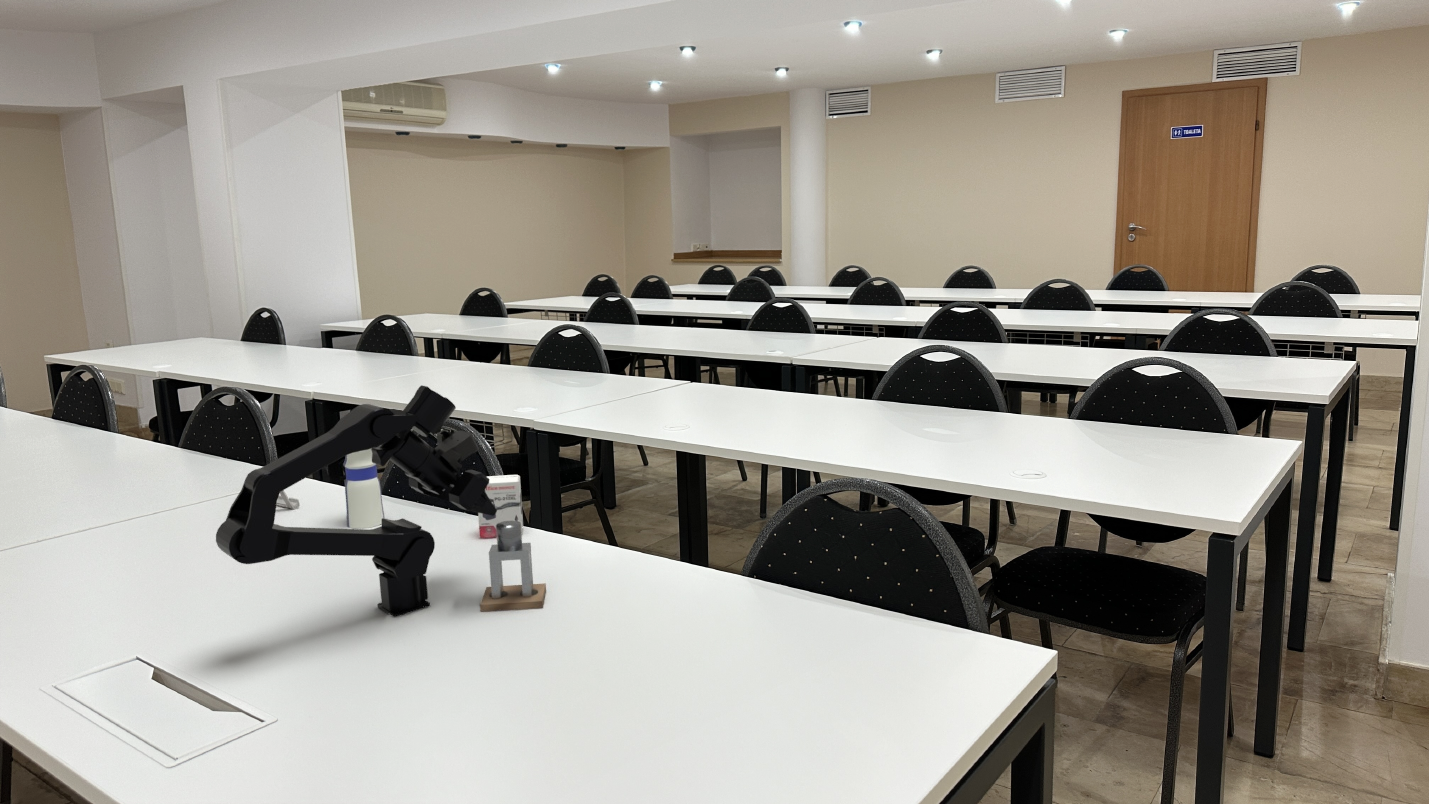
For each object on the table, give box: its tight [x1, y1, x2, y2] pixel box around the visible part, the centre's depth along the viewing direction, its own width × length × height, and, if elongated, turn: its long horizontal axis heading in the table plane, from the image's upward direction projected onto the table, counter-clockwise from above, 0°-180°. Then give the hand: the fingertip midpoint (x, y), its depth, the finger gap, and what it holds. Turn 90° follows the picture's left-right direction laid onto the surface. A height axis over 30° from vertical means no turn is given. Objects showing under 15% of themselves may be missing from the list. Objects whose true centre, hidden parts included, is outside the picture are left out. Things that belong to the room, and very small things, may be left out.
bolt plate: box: [479, 583, 547, 613], centre depth 161 cm, size 10×8×1 cm
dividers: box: [488, 521, 534, 599], centre depth 160 cm, size 6×4×12 cm, turn 96°
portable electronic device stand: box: [276, 490, 301, 510], centre depth 218 cm, size 9×8×8 cm
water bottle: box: [342, 448, 385, 529], centre depth 205 cm, size 8×9×25 cm
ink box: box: [477, 474, 524, 539], centre depth 196 cm, size 8×5×12 cm, turn 98°
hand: (481, 508), depth 168 cm, fingers open, 9 cm apart
